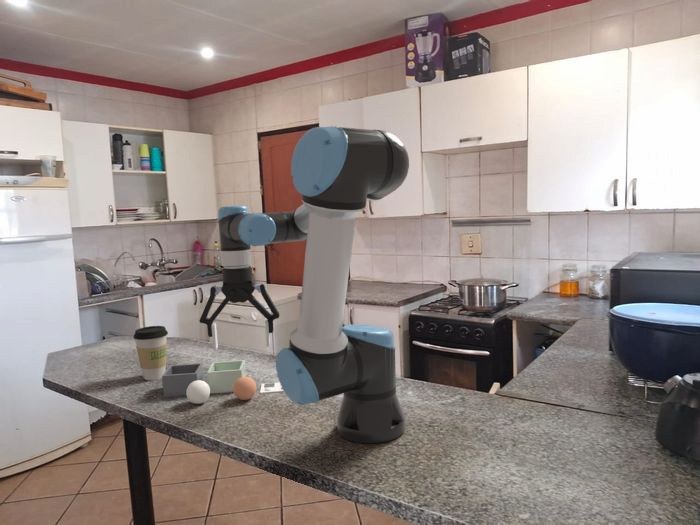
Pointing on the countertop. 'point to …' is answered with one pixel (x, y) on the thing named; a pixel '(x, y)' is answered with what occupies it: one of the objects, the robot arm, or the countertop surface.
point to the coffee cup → (152, 351)
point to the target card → (271, 388)
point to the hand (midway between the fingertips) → (242, 347)
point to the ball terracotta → (244, 388)
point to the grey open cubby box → (181, 378)
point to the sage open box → (225, 375)
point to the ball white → (198, 392)
